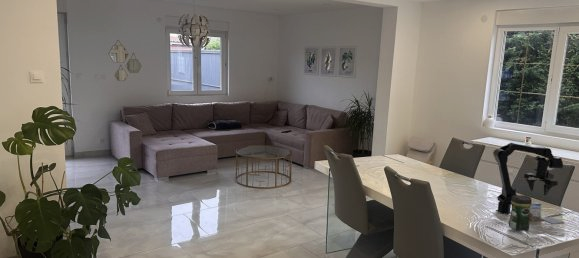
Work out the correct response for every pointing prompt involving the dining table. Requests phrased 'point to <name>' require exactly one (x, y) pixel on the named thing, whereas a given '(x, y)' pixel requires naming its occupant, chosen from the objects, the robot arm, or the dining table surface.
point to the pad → (552, 220)
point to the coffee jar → (520, 212)
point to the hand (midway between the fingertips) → (538, 193)
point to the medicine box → (535, 210)
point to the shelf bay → (534, 218)
